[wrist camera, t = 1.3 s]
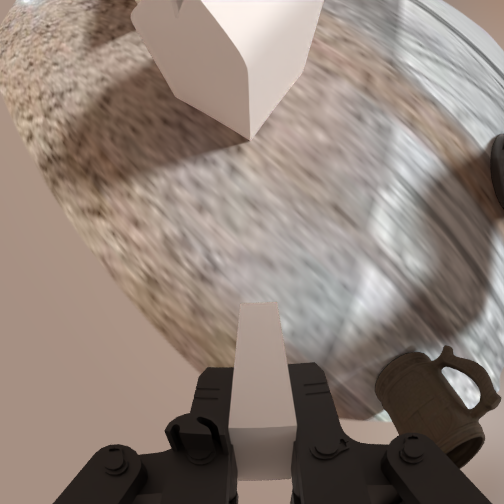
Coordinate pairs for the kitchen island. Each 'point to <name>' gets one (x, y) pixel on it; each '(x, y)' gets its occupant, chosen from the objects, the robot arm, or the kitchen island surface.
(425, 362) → the beer stein
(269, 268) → the kitchen island surface
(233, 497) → the robot arm
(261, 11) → the milk
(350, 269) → the kitchen island surface
